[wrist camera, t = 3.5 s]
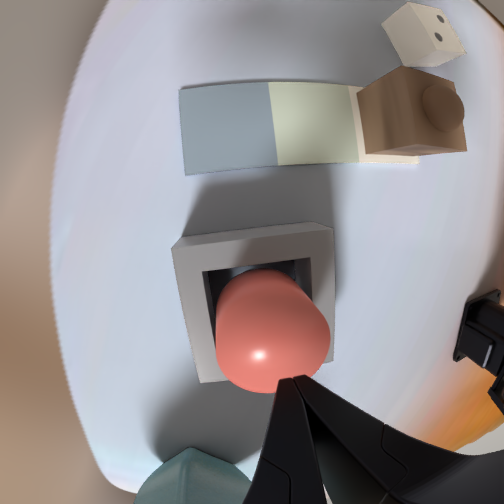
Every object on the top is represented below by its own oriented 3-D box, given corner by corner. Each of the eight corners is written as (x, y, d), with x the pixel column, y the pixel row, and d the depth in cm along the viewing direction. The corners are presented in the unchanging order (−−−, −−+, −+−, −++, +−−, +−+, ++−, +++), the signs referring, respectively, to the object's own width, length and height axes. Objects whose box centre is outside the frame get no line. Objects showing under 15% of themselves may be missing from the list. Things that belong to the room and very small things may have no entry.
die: (413, 27, 13) (442, 8, 9) (434, 67, 14) (468, 53, 10) (380, 24, 13) (409, 0, 9) (403, 67, 14) (438, 48, 10)
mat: (406, 96, 14) (408, 95, 14) (416, 164, 16) (419, 163, 15) (179, 92, 13) (178, 90, 13) (185, 175, 14) (185, 175, 14)
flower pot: (184, 425, 18) (177, 520, 9) (264, 460, 20) (281, 537, 11) (135, 460, 19) (121, 532, 10) (207, 490, 21) (211, 555, 12)
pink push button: (302, 262, 13) (331, 286, 9) (305, 341, 14) (328, 381, 10) (209, 274, 13) (206, 305, 9) (223, 354, 14) (225, 399, 10)
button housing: (311, 221, 15) (333, 228, 12) (315, 334, 17) (333, 361, 14) (180, 237, 15) (171, 248, 12) (202, 352, 16) (200, 383, 13)
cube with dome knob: (405, 100, 14) (471, 76, 8) (413, 156, 15) (486, 150, 9) (356, 93, 14) (419, 55, 8) (365, 154, 15) (439, 140, 8)
